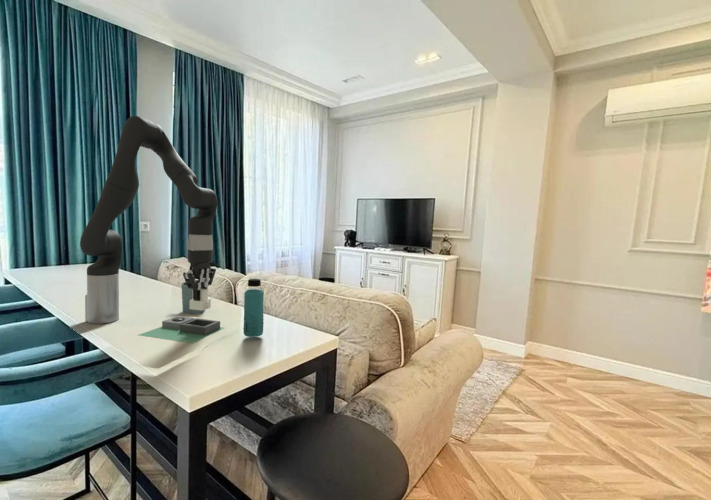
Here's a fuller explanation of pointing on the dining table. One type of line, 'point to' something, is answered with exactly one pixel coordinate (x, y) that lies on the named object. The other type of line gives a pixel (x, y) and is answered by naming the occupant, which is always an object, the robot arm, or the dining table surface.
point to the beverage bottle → (253, 309)
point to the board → (184, 329)
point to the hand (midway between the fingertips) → (200, 299)
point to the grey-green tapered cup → (188, 299)
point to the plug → (201, 301)
